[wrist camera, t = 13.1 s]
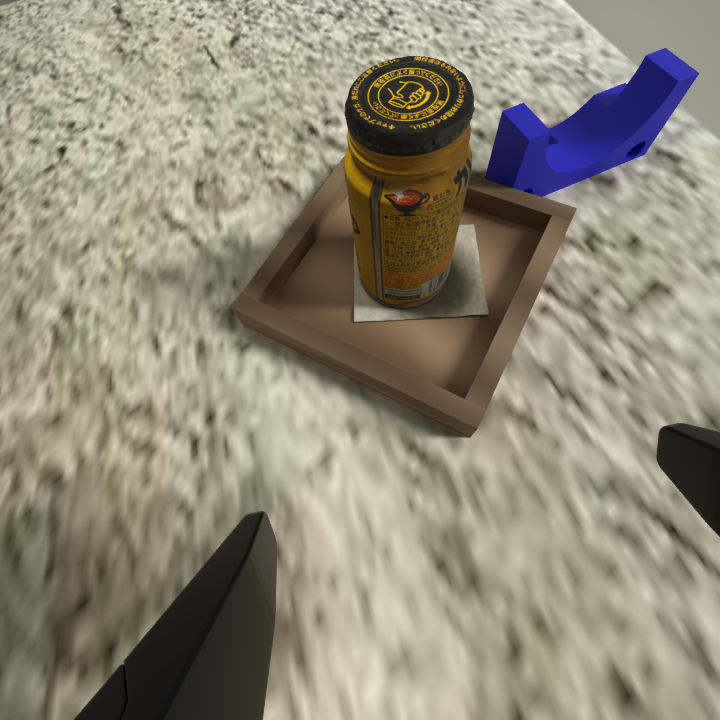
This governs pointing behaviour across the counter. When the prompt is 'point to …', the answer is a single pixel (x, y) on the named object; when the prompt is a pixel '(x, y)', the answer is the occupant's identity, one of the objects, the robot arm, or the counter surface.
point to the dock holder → (410, 336)
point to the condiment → (411, 192)
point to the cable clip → (589, 130)
